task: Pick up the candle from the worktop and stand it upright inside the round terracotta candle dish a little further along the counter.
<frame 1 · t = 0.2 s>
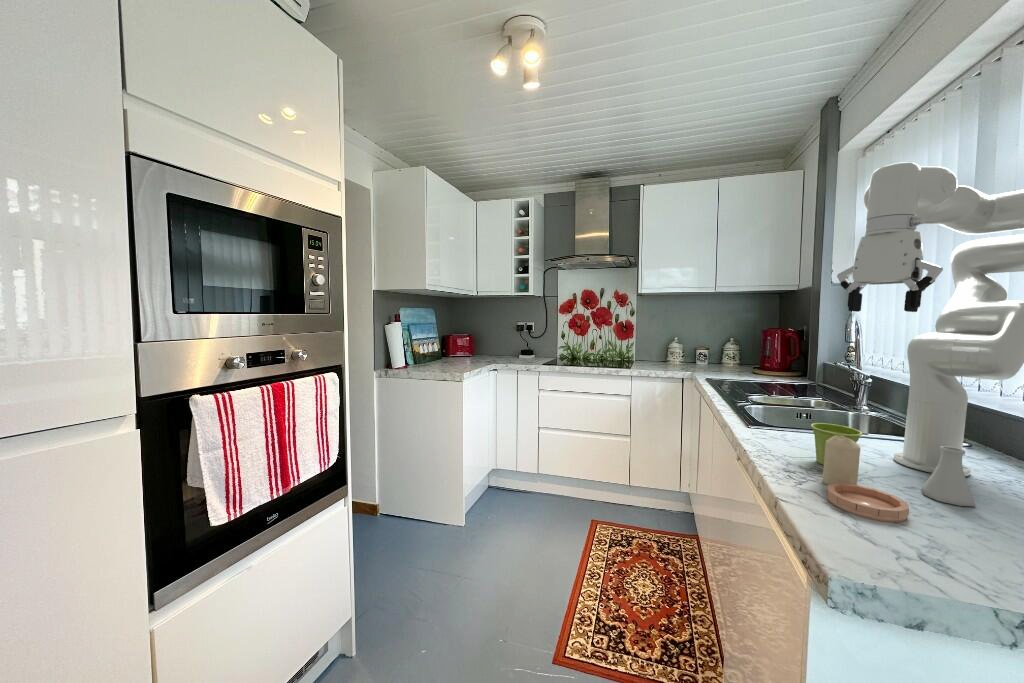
hand: (881, 311, 84), 36 cm above the counter, tool pointing down, fingers open, 9 cm apart
flask: (947, 500, 78), on the counter
candle dish: (865, 506, 74), on the counter
candle: (839, 485, 84), on the counter
plant pot: (832, 465, 95), on the counter
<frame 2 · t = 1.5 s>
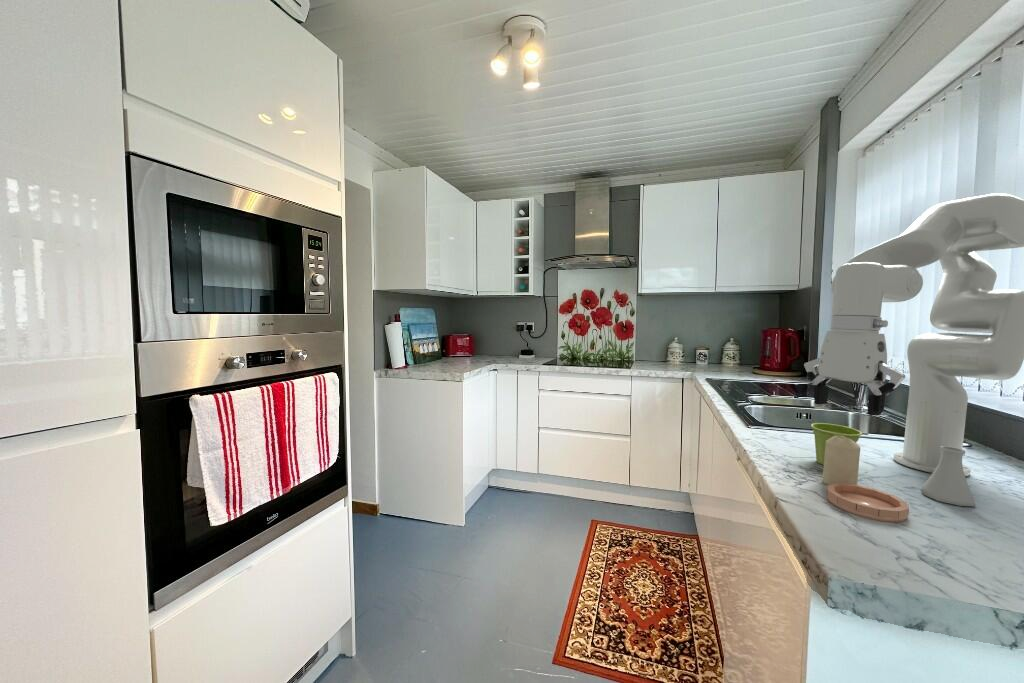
hand: (846, 409, 83), 16 cm above the counter, tool pointing down, fingers open, 9 cm apart
nothing on the counter moved.
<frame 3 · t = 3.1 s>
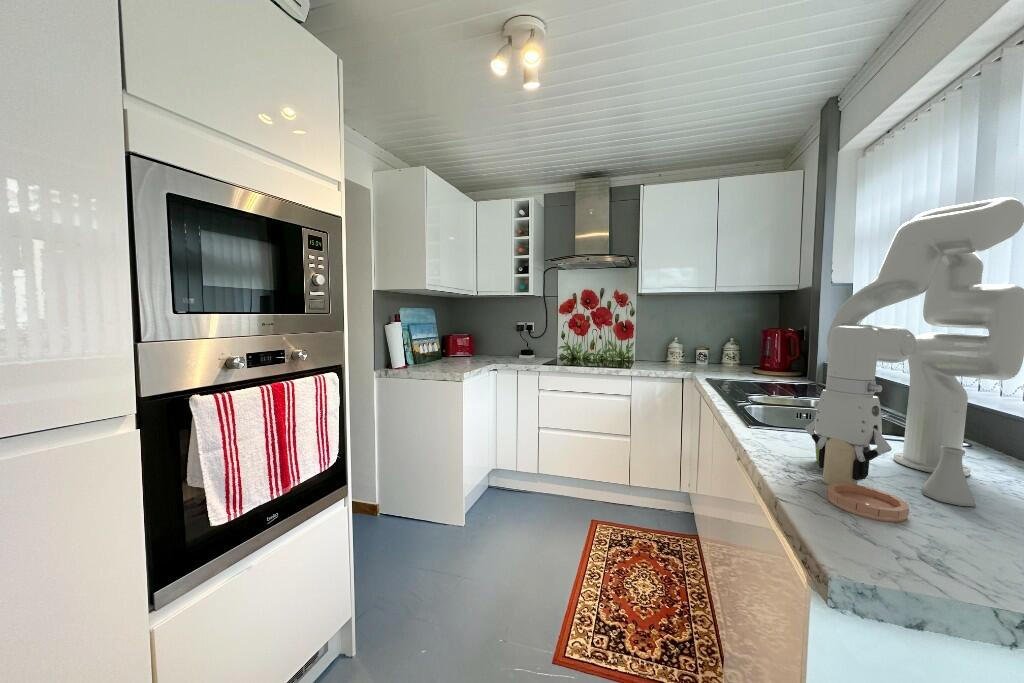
hand: (841, 472, 84), 3 cm above the counter, tool pointing down, fingers closed on candle, 5 cm apart
candle: (839, 485, 84), on the counter, touching gripper
everything else where it was.
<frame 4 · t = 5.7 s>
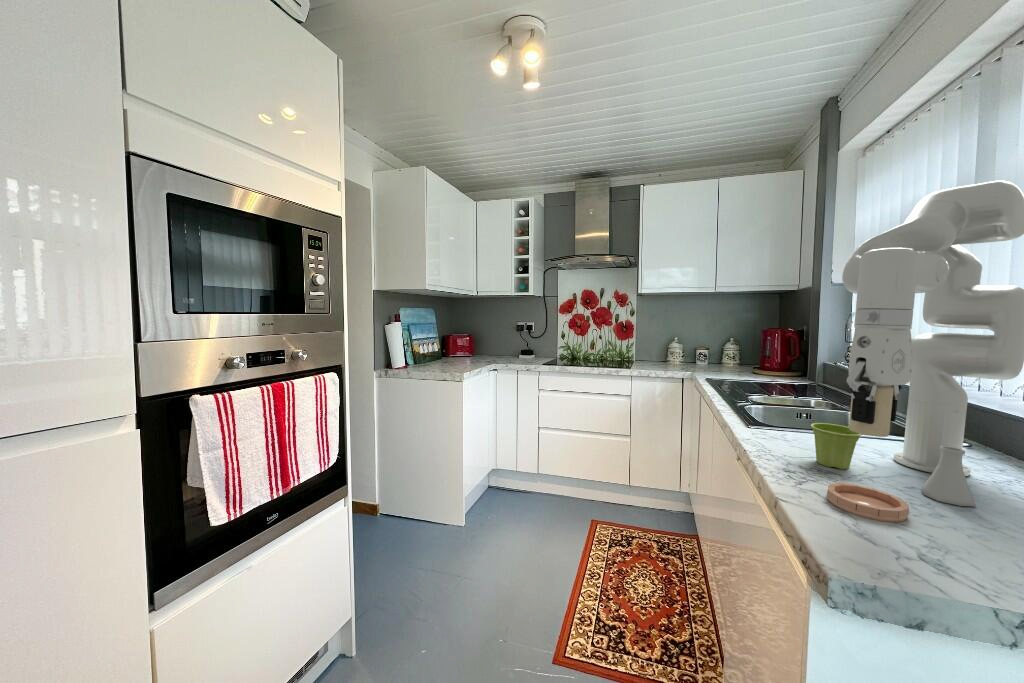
hand: (873, 419, 73), 16 cm above the counter, tool pointing down, fingers closed on candle, 5 cm apart
candle: (868, 433, 73), point 13 cm above the counter, touching gripper
everything else where it was.
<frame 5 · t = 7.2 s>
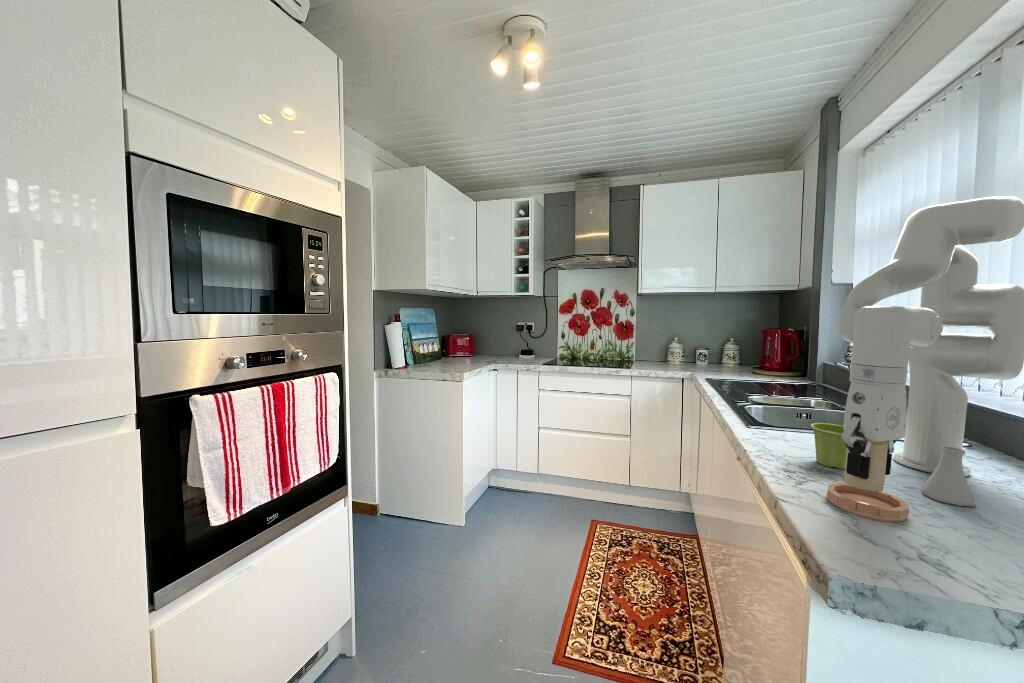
hand: (868, 473, 73), 6 cm above the counter, tool pointing down, fingers closed on candle, 5 cm apart
candle: (863, 486, 74), point 4 cm above the counter, touching gripper
everything else where it was.
when the fingers open (4 cm above the counter, at t = 8.6 s): candle stays where it is, resting on candle dish.
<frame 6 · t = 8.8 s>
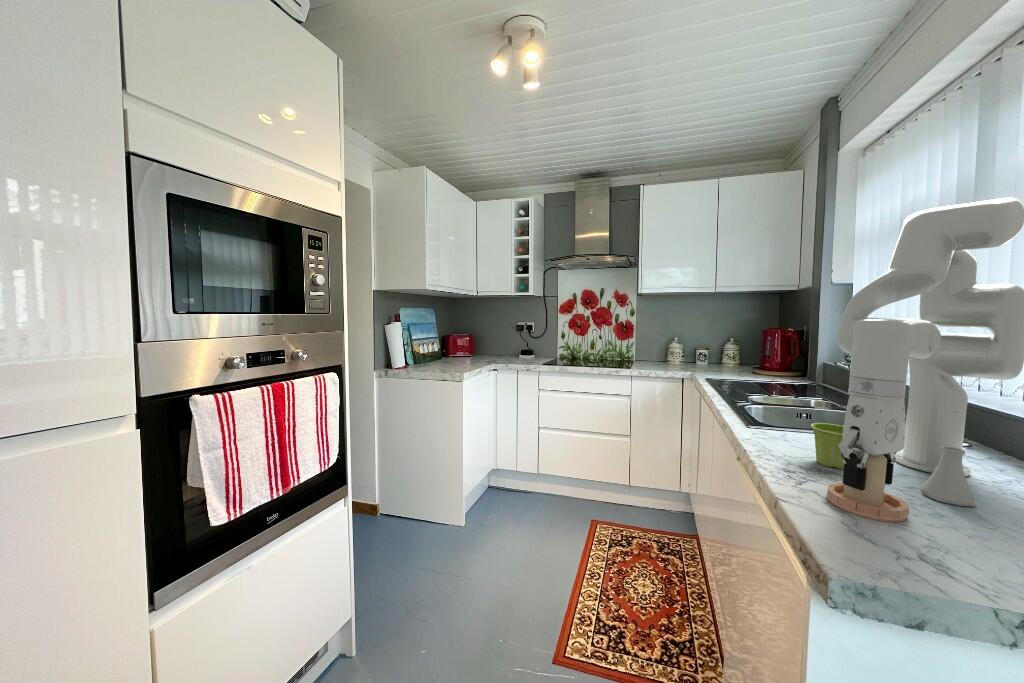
hand: (867, 483, 74), 4 cm above the counter, tool pointing down, fingers open, 7 cm apart
candle: (862, 501, 74), point 1 cm above the counter, touching candle dish
everything else where it was.
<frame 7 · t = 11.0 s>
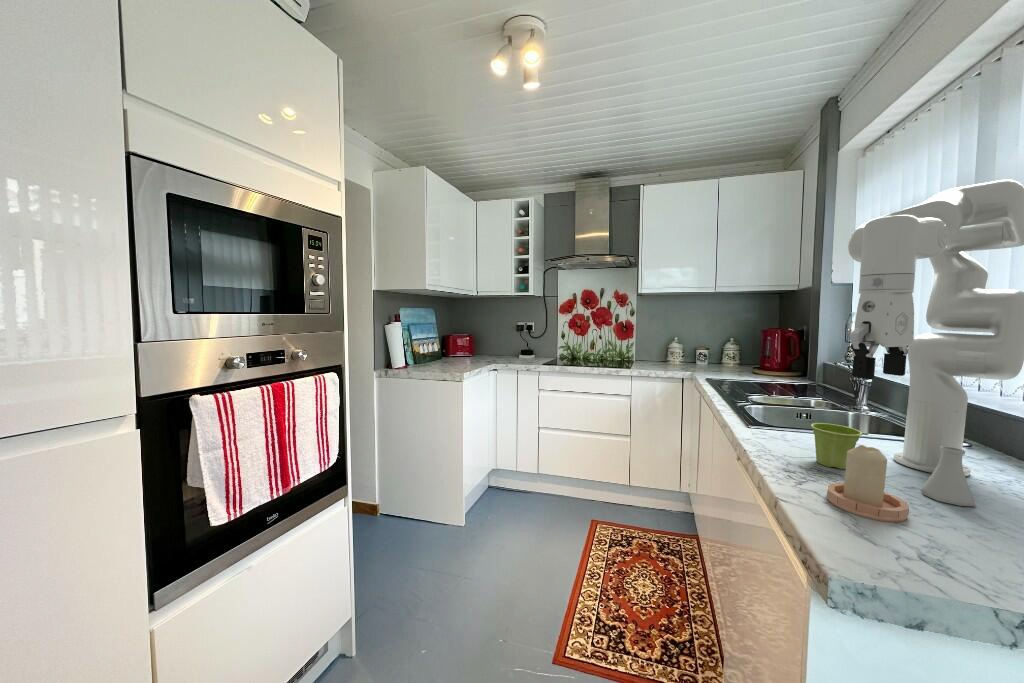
hand: (878, 376, 77), 23 cm above the counter, tool pointing down, fingers open, 9 cm apart
nothing on the counter moved.
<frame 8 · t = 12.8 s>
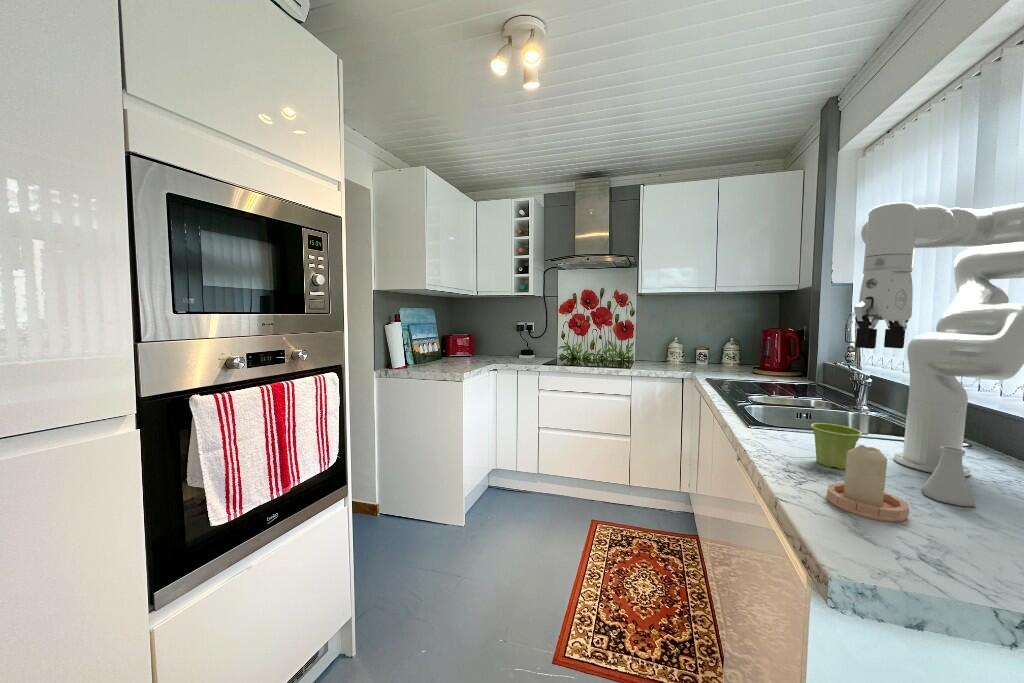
hand: (879, 347, 85), 28 cm above the counter, tool pointing down, fingers open, 9 cm apart
nothing on the counter moved.
at the end: candle 0.6 cm off-centre on the candle dish, point 0.6 cm above the candle dish's base; candle tilted 0°; the gripper is holding nothing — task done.
